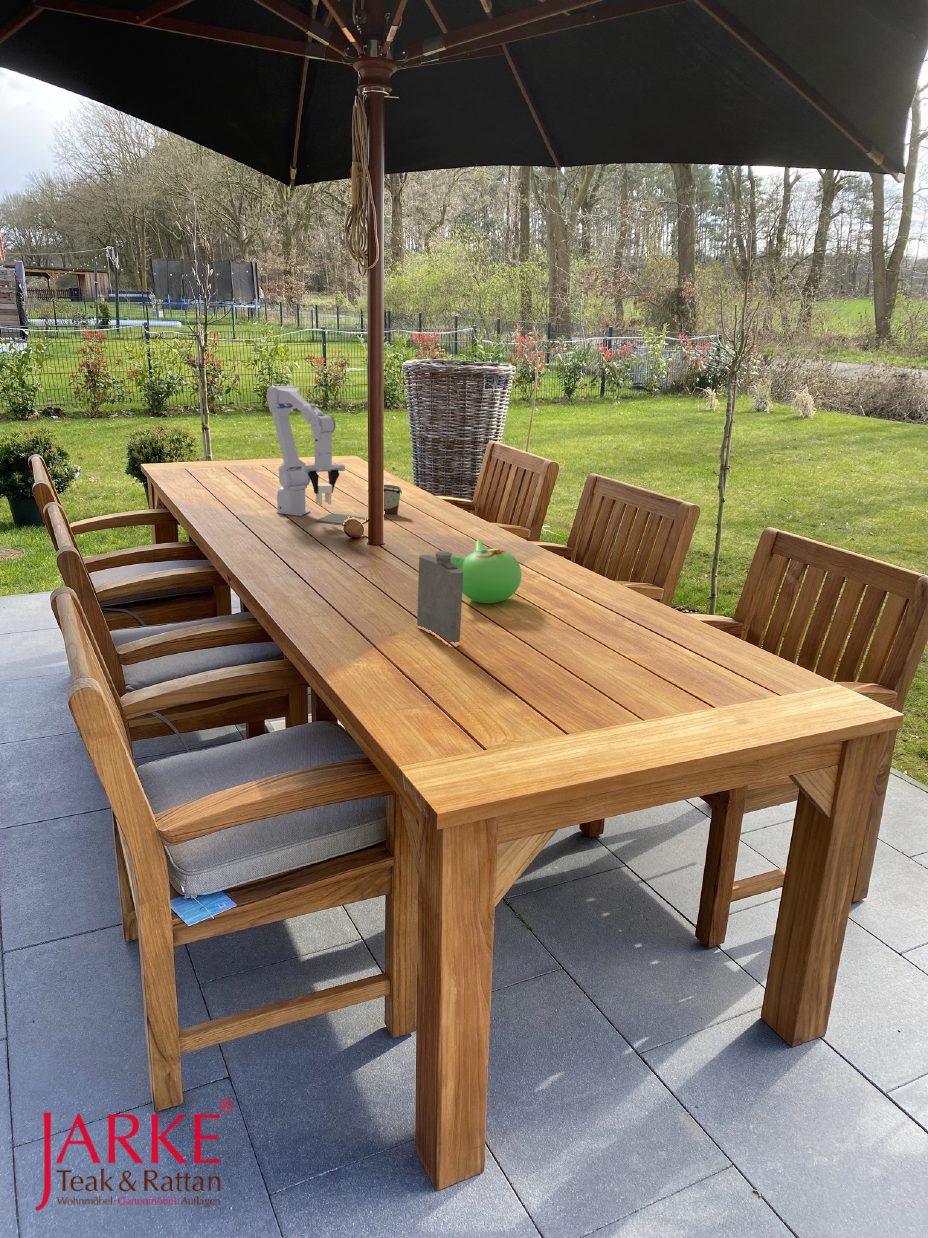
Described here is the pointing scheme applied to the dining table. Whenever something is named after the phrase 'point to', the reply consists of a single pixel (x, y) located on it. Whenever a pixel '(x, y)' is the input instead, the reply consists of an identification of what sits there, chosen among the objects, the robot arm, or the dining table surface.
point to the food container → (391, 499)
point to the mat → (336, 518)
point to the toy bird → (488, 574)
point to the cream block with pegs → (325, 489)
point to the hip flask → (440, 595)
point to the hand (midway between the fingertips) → (323, 492)
